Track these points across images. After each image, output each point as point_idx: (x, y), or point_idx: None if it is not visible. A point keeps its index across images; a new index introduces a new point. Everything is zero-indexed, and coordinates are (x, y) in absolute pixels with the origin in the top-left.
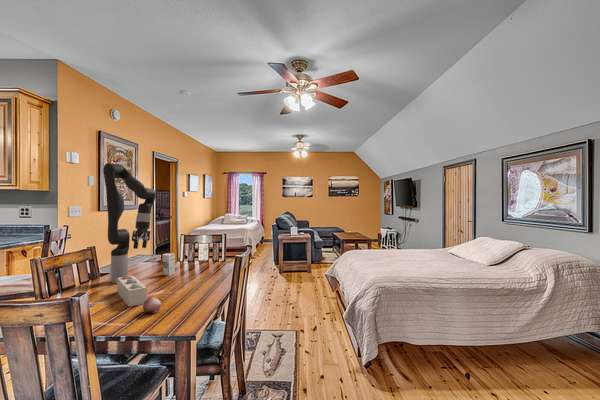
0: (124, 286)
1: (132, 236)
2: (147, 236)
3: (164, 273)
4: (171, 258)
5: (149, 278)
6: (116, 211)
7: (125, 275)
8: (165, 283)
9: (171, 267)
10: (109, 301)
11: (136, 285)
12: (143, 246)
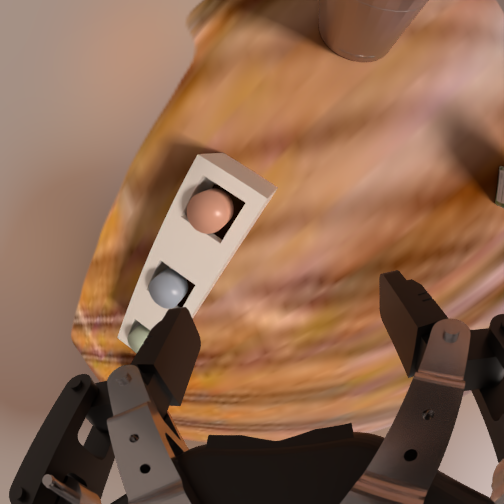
0: (134, 291)
1: (47, 427)
2: (499, 418)
3: (502, 179)
4: None
5: (448, 135)
6: None
7: (203, 205)
8: (392, 268)
9: None
10: (141, 224)
11: (135, 350)
12: (386, 298)
